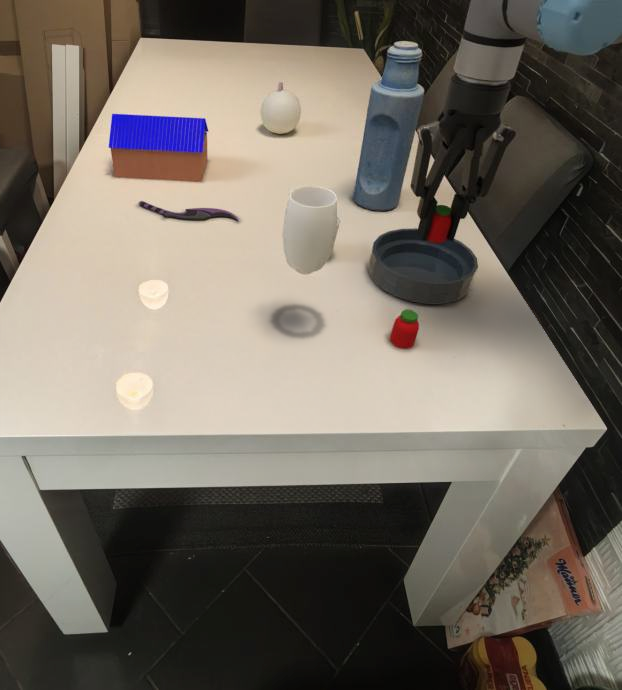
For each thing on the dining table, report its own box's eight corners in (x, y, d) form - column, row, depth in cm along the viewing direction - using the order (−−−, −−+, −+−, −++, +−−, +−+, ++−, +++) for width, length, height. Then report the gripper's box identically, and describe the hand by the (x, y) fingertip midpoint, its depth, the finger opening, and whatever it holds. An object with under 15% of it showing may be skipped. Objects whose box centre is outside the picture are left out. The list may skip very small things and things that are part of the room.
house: (203, 182, 120) (201, 128, 112) (112, 177, 120) (105, 123, 112) (209, 160, 129) (208, 108, 121) (124, 155, 129) (118, 104, 121)
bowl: (489, 281, 94) (498, 259, 91) (429, 320, 86) (436, 297, 83) (408, 240, 104) (414, 219, 101) (347, 271, 95) (351, 248, 92)
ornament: (258, 124, 147) (260, 77, 139) (296, 125, 148) (300, 77, 140) (261, 139, 139) (263, 89, 131) (301, 139, 140) (306, 90, 132)
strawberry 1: (419, 342, 82) (427, 315, 78) (404, 352, 80) (412, 325, 76) (399, 329, 84) (407, 303, 80) (384, 339, 82) (391, 313, 79)
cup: (293, 300, 88) (306, 178, 75) (330, 319, 85) (351, 195, 71) (265, 321, 84) (274, 196, 70) (304, 342, 81) (321, 215, 67)
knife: (139, 203, 111) (133, 216, 108) (139, 199, 111) (133, 212, 107) (240, 212, 110) (237, 225, 107) (240, 208, 110) (237, 222, 106)
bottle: (405, 198, 117) (443, 42, 97) (387, 216, 111) (423, 53, 91) (364, 186, 121) (392, 33, 101) (344, 203, 114) (370, 43, 94)
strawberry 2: (450, 238, 86) (460, 209, 83) (437, 245, 85) (446, 216, 81) (431, 229, 88) (440, 200, 85) (418, 236, 87) (426, 207, 83)
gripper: (531, 69, 74) (477, 224, 90) (411, 67, 73) (377, 224, 89) (557, 86, 68) (495, 248, 84) (427, 84, 67) (389, 248, 83)
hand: (435, 235), depth 86 cm, fingers closed on strawberry 2, 4 cm apart
